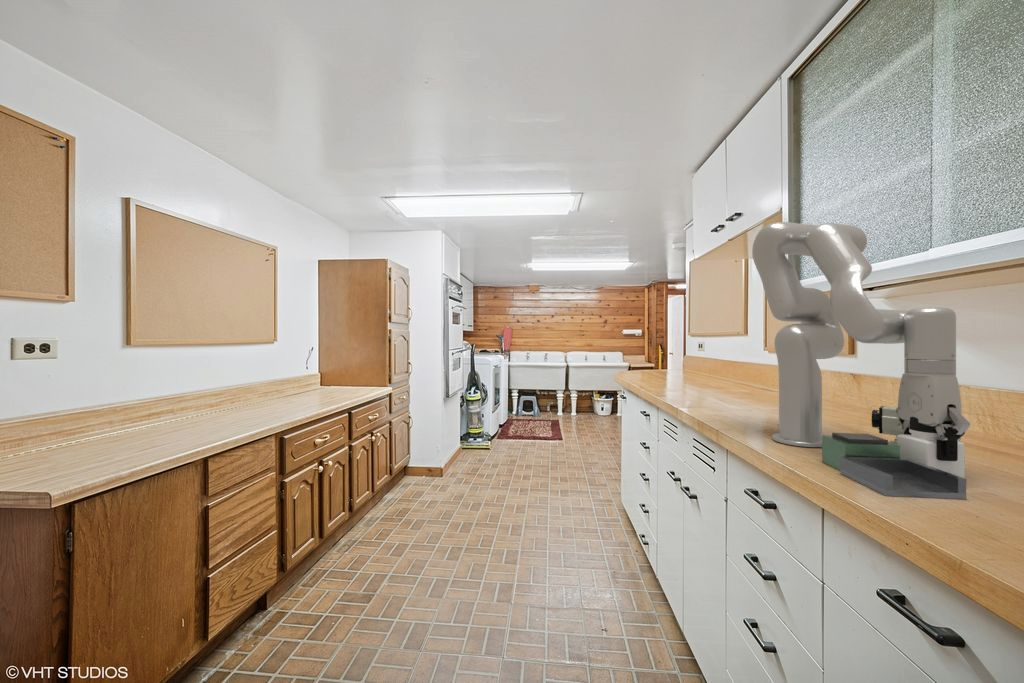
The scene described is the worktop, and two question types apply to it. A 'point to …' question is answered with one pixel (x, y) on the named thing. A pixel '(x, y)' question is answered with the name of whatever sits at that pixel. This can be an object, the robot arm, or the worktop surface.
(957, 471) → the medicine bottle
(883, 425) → the pneumatic valve
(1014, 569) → the worktop surface
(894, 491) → the grey and green bracket
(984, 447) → the worktop surface
